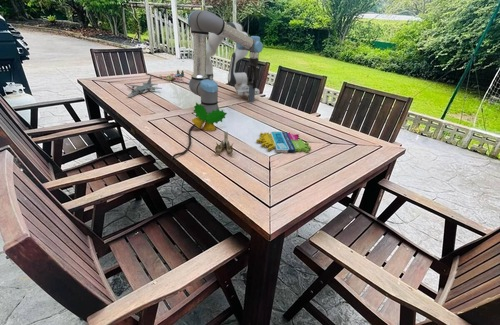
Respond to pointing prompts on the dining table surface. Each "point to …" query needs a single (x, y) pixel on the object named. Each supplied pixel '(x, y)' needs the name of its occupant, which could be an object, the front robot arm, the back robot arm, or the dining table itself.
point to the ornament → (207, 117)
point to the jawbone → (224, 145)
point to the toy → (173, 76)
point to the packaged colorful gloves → (283, 142)
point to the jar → (251, 93)
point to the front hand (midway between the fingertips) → (252, 87)
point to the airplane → (142, 88)
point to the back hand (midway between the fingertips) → (252, 94)
